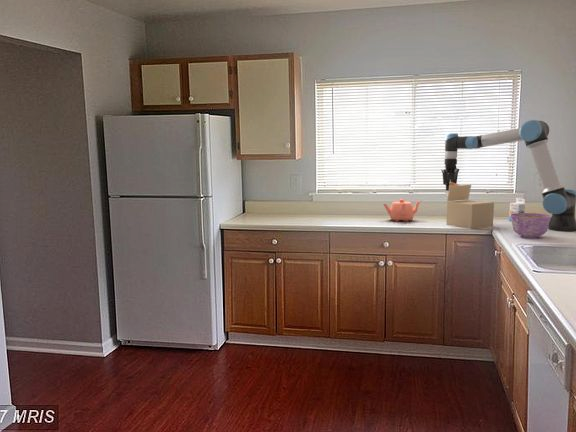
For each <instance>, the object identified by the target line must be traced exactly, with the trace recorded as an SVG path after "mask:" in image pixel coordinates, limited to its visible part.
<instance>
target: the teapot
mask: <svg viewBox="0 0 576 432" xmlns="http://www.w3.org/2000/svg"><path fill="white" fill-rule="evenodd" d="M421 202H422V200H418V201H417V202H416V203H415V206H414V208H413V204H412V202H411V201H405V199H404V198H403V199H402V198H400V199H399V200H398V201H392V203H391V206H390V207H389V205H388V204H387V203H384V204H383V207H384V208H385V209H386V212H387V213H388V215H389V217H390V219H391V220H393V221H394V222H397V223H398V222H400V221H404V222H405V223H406V222H410V221H412V220H413V219H414V217H415V214H416V213H417V212H418V210H419V205H420V203H421Z"/></svg>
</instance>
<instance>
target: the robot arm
mask: <svg viewBox="0 0 576 432" xmlns="http://www.w3.org/2000/svg"><path fill="white" fill-rule="evenodd" d="M549 134H550V127H549V125H548V123H547V122H545V121H544V120H537V119H530V120H527V121H525V122H523V123H522V124H521V126H520V128H519V127H518V128H513V129H509V130H503V131H498V132H492V133H487V134H483V135H481V134H480V135H477V136H476V135H475V136H472V135H471V136H469V135H468V136H467V135H466V136H459V134H458V132H456V133H453V132H452V133H446V134H445V140H444V144H445V146H444V165H445V166H444V168H442V169H441V173H442V182H443V183H442V184H443V185H444V186H445V191H446V192H445V194H446V195H445V196H446V197H448V193H449V188H450V182H453V183H456V184H458V183H457V182H458V177H459V172H460V168H458V167H457V165H458V149H459V150H462V149H463V150H473V149H475V150H477V149H482V148H487V147H493V146H498V145H504V144H511V143H516V142H524V144H525V147H526V148H527V149H529V151H530V153H531V155H532V158H533V162H534V165H535V168H536V170H537V174H538V177H539V179H540V183H541V186H542V191H541V196H542V199H543V200H542V207H543V209H544V210H545V211H546V212H547V213H549V214H551V220H550V223H549V226H548V229H547V230H551V231H558V232H576V190H575V189H569V188H568V189H565V187H564V186H563V185H561V184H560V181H559V179H558V174H557V171H556V169H555V166H554V163H553V161H552V157H551V153H550V150H549V148H548V145H547V144H548V141H549V138H548V136H549Z"/></svg>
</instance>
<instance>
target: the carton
mask: <svg viewBox="0 0 576 432" xmlns="http://www.w3.org/2000/svg"><path fill="white" fill-rule="evenodd" d="M494 210H495V203H494V202H493V201H485V200H471V199H468V200H456V201H446V221H445V223H446V225H448V226H454V227H458V228H465V229H470V230H472V229H480V228H482V229H483V228H490V227H494V215H495V214H494V212H495V211H494Z"/></svg>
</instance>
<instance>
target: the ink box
mask: <svg viewBox="0 0 576 432" xmlns="http://www.w3.org/2000/svg"><path fill="white" fill-rule="evenodd" d="M525 204H526V199H525V198H522V197H521V198H520V197H516V198H515V202H509V212H508V213H509V214H508V215H509V217H508V218H509V219H508V221H509V222H512V221H511V216H510V215H511V214H514V213H526V212H525V209H526V205H525Z"/></svg>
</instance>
